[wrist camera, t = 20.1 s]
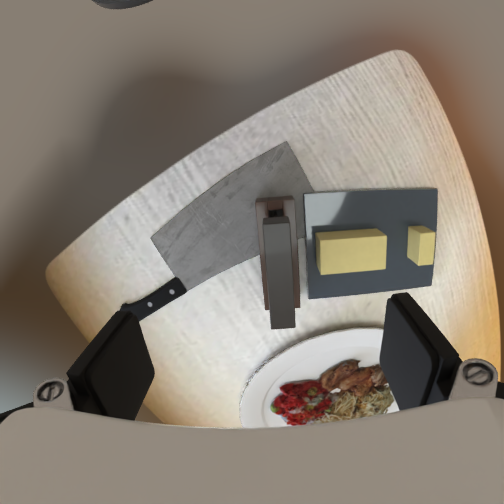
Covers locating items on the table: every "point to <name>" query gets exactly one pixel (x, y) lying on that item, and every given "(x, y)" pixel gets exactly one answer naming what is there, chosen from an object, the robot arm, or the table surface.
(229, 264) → the cleaver
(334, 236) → the butter stick
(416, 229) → the butter slice
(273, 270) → the bench scraper
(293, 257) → the block
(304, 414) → the plated food
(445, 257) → the table surface
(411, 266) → the butter dish
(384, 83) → the table surface
